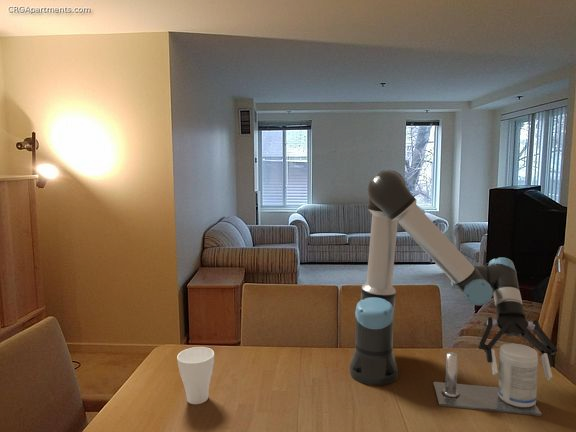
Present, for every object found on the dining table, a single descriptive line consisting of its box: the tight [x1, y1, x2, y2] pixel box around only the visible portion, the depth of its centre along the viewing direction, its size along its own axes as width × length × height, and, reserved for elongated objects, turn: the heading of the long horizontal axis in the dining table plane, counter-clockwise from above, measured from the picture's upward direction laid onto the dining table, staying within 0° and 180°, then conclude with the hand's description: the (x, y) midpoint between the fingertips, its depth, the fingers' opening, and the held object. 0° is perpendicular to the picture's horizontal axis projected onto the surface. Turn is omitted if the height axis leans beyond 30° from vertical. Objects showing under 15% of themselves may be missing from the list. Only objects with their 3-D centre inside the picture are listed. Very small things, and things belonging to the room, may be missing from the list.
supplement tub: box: [497, 342, 539, 407], centre depth 119 cm, size 10×10×15 cm
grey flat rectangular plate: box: [433, 381, 543, 417], centre depth 121 cm, size 26×12×1 cm, turn 78°
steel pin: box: [443, 351, 459, 398], centre depth 122 cm, size 4×4×12 cm
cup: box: [176, 346, 215, 405], centre depth 122 cm, size 10×10×14 cm
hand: (522, 376), depth 116 cm, fingers open, 13 cm apart
